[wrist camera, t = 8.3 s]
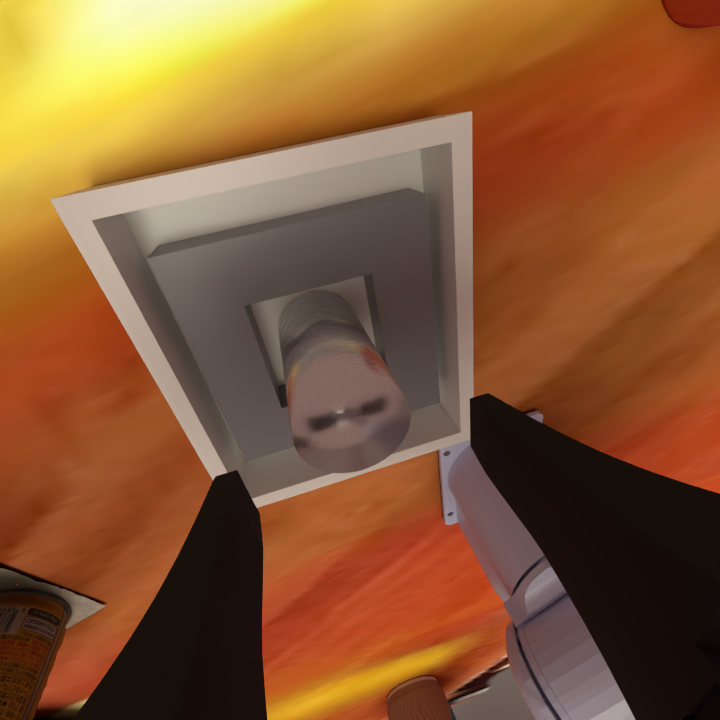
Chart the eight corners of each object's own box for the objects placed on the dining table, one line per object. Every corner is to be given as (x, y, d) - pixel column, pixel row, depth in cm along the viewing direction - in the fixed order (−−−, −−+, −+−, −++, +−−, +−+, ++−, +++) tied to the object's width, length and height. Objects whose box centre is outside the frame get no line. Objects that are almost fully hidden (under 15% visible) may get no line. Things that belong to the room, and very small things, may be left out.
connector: (360, 351, 20) (413, 454, 14) (288, 369, 20) (306, 486, 13) (350, 282, 18) (406, 364, 12) (268, 299, 18) (278, 396, 11)
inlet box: (447, 402, 25) (473, 438, 22) (235, 467, 23) (233, 515, 20) (431, 116, 16) (471, 111, 13) (90, 186, 14) (49, 199, 11)
